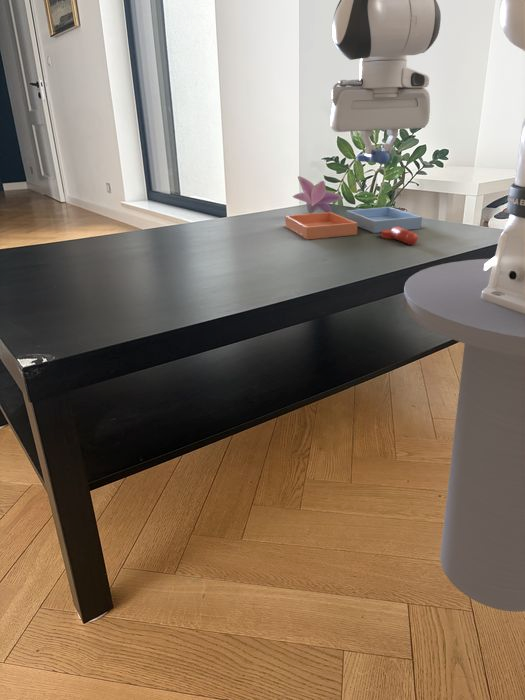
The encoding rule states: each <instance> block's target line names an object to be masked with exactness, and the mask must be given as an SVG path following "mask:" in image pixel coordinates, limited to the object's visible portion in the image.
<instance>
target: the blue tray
mask: <svg viewBox="0 0 525 700" xmlns="http://www.w3.org/2000/svg"><path fill="white" fill-rule="evenodd" d="M345 218H347V219H349V220H352V221H354V222H357V227H359V228H361V229H364V230H366V231H367V232H371V233H373V234H378V233H382V230H385V229H392V228H394V227H400V228H403V229H406V230H408V231H410V230H419V229H422V225H423V217H422V216H421V215H418V214H414V213H411V212H408V211H405V210H402V209H397V208H395V207H392V206H383V207H382V206H381V207H371V208H361V209H347V210H345Z"/></svg>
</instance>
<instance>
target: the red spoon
mask: <svg viewBox="0 0 525 700" xmlns="http://www.w3.org/2000/svg"><path fill="white" fill-rule="evenodd" d="M380 233H381V234H380V235H381V238H383V239H387V240H396V241H399V242H402V243H404V244H406V245H409V246H413V245H415V244H416V243H417V242H418V240H419V236H418V234H417V233H416V232H414V231H410V230H406V229H403V228H400V227H394V228H392V229H385V230H382V232H380Z"/></svg>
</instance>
